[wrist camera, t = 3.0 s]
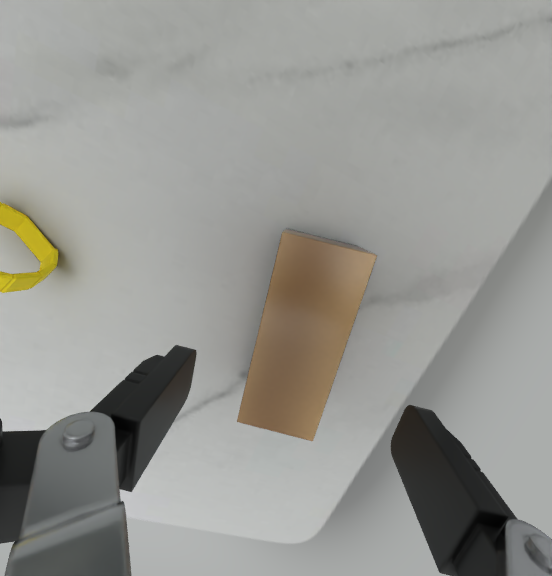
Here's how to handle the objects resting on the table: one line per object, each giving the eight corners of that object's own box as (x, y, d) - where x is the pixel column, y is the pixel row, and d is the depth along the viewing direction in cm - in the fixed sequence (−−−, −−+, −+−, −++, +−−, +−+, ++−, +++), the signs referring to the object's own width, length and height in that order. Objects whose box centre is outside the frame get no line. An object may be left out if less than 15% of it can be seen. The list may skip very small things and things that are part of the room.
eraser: (358, 246, 16) (377, 255, 12) (309, 396, 19) (312, 441, 15) (285, 228, 16) (282, 231, 12) (248, 380, 19) (236, 422, 15)
